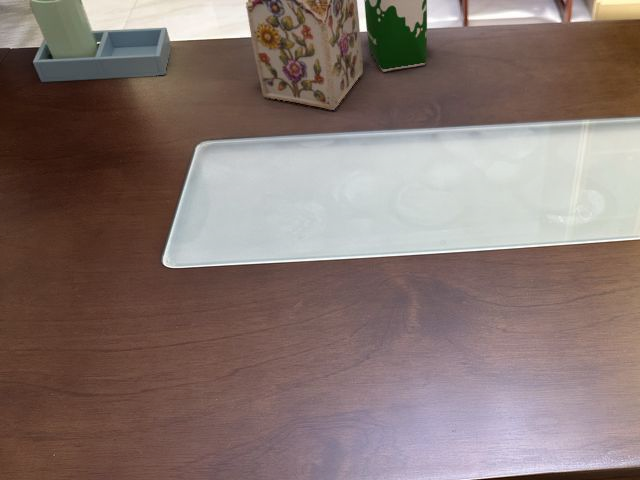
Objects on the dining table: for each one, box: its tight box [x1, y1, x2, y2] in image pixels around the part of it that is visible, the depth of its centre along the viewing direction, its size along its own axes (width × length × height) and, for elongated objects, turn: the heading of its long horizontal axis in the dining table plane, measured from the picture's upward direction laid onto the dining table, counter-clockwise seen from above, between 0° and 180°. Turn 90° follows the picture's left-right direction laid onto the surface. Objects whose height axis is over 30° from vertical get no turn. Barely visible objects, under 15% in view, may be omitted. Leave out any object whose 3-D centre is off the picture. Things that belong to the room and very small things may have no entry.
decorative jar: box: [245, 0, 364, 109], centre depth 101 cm, size 12×12×18 cm
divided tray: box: [32, 27, 173, 83], centre depth 110 cm, size 18×9×3 cm, turn 99°
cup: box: [27, 0, 99, 59], centre depth 106 cm, size 7×7×10 cm
